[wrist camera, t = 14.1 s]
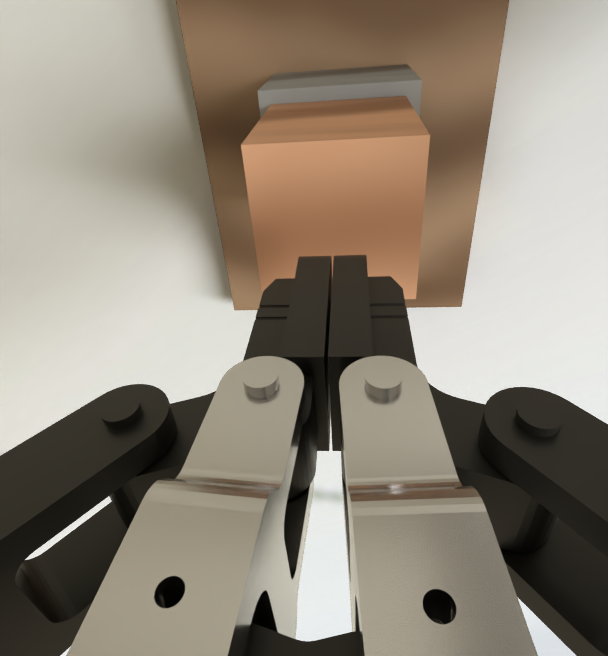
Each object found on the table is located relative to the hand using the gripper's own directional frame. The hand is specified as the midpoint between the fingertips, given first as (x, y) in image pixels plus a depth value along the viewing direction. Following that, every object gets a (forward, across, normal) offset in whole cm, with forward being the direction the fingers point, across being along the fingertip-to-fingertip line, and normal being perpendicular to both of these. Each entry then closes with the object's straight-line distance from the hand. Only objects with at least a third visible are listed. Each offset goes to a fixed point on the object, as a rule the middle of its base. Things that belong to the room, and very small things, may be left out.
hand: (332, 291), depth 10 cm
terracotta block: (+10, 0, 0) cm, 10 cm away
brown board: (+16, 0, 0) cm, 16 cm away
